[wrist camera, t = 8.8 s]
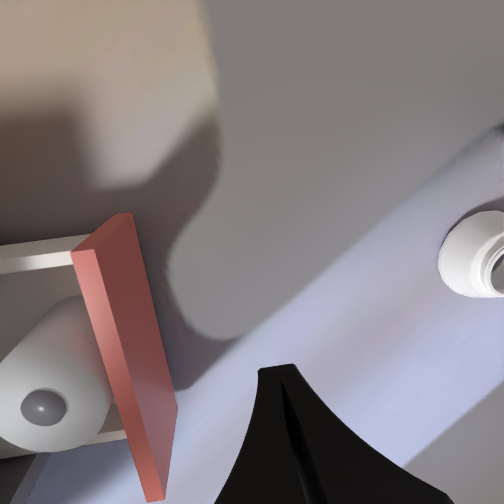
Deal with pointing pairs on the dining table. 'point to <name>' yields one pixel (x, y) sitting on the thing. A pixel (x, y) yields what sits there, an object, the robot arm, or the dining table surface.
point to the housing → (20, 476)
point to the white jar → (475, 256)
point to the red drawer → (101, 333)
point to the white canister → (55, 383)
